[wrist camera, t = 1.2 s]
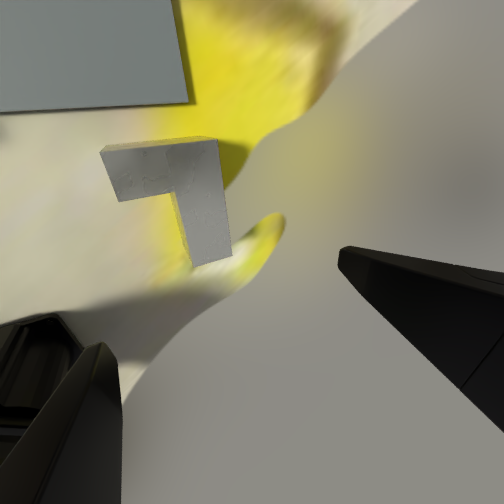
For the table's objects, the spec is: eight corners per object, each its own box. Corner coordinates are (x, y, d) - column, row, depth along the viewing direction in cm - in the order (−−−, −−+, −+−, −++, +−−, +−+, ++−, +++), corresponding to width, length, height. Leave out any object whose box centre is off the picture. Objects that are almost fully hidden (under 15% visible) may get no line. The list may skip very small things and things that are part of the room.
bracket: (216, 235, 20) (232, 255, 17) (145, 253, 18) (149, 280, 15) (199, 135, 16) (217, 139, 13) (105, 145, 14) (99, 152, 11)
